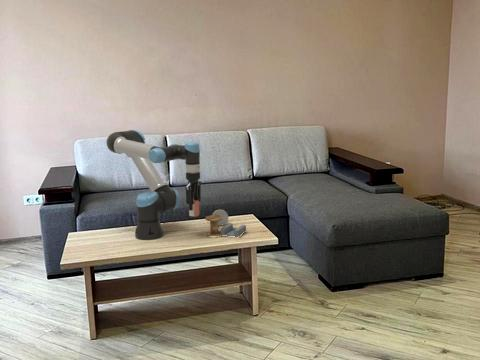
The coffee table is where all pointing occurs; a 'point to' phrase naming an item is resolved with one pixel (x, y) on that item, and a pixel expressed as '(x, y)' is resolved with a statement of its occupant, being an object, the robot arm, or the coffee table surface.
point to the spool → (214, 225)
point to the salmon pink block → (196, 207)
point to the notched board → (233, 230)
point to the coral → (224, 216)
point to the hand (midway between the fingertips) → (194, 214)
